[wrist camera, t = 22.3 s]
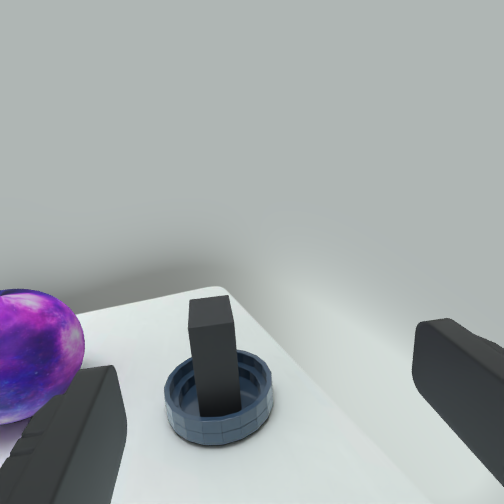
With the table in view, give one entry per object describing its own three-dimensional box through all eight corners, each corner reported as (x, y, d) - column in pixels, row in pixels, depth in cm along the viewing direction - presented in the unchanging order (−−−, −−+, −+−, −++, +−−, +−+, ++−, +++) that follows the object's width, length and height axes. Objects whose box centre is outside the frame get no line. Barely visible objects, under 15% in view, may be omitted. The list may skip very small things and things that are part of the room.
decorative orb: (12, 476, 32) (-38, 341, 28) (-80, 438, 37) (-136, 319, 33) (120, 377, 46) (98, 274, 41) (41, 359, 51) (13, 266, 46)
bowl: (271, 369, 45) (269, 346, 44) (275, 447, 33) (273, 419, 32) (181, 372, 46) (178, 350, 44) (154, 450, 34) (149, 423, 33)
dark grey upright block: (236, 380, 43) (228, 294, 39) (242, 419, 36) (234, 322, 33) (200, 386, 42) (189, 299, 38) (201, 426, 36) (187, 328, 32)
